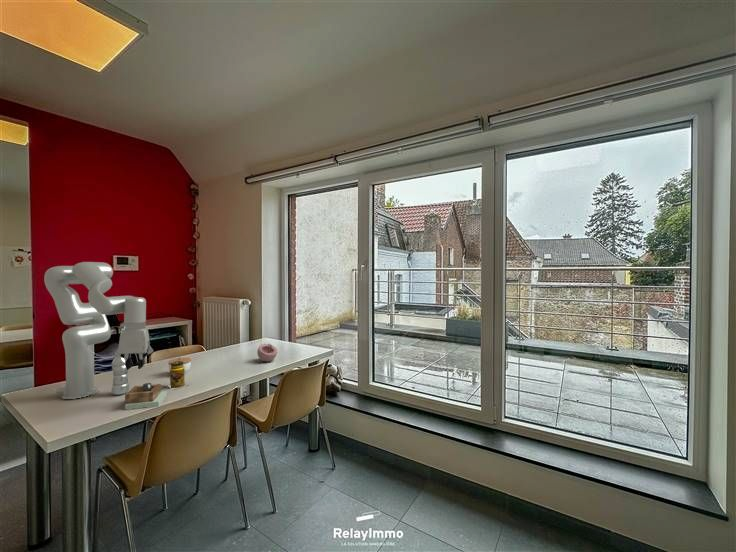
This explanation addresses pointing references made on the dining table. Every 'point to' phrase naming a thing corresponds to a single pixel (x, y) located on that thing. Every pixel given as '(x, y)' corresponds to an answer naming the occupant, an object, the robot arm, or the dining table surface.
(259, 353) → the pink round bowl
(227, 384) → the dining table surface
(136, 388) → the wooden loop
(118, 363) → the plastic bottle
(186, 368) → the white round bowl
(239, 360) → the dining table surface
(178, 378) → the condiment
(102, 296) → the robot arm
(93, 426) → the dining table surface
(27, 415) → the dining table surface
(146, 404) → the peg stand
